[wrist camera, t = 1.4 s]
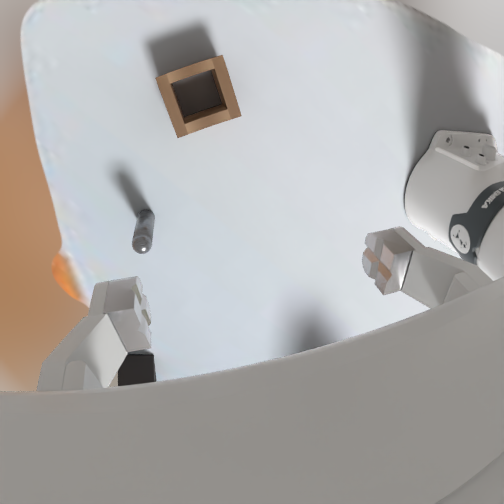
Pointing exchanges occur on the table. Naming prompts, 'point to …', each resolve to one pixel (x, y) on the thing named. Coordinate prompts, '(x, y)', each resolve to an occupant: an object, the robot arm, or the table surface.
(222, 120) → the collar
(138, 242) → the post
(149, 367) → the phone stand
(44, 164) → the table surface
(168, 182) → the table surface
